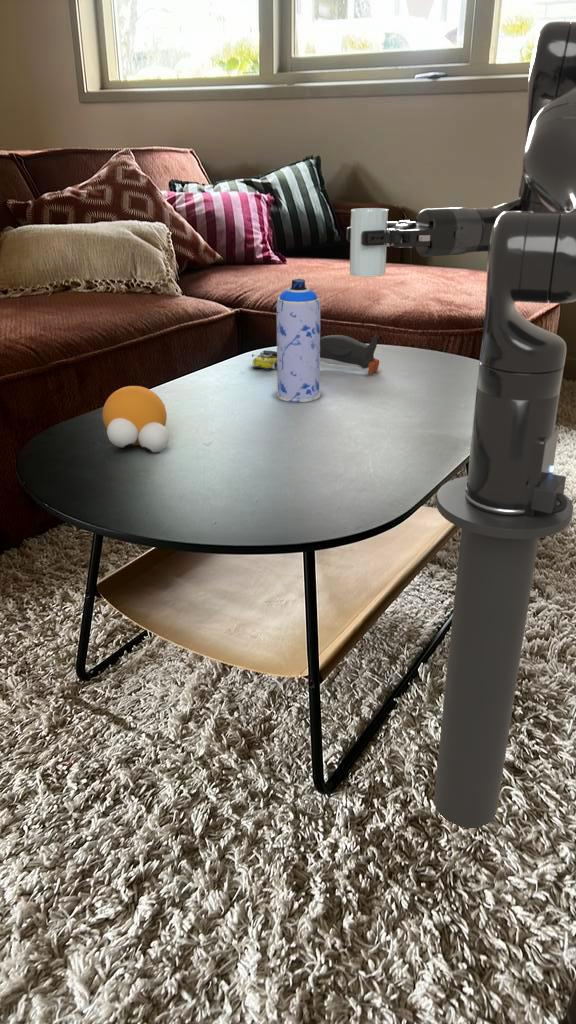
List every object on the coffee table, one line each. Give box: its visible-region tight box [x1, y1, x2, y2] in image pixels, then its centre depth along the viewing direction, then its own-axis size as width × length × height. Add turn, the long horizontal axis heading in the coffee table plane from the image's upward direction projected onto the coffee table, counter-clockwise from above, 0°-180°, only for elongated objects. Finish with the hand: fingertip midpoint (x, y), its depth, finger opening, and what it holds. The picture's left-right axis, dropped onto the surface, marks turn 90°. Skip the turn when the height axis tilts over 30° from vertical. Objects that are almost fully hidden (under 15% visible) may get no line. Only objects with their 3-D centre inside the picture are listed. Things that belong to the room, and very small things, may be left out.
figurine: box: [320, 334, 380, 376], centre depth 150 cm, size 7×10×15 cm
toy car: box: [251, 350, 277, 371], centre depth 155 cm, size 5×10×3 cm, turn 155°
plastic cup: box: [349, 207, 389, 278], centre depth 124 cm, size 6×6×10 cm
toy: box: [102, 385, 170, 453], centre depth 114 cm, size 9×10×15 cm
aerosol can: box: [275, 278, 322, 403], centre depth 132 cm, size 8×8×20 cm
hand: (354, 236), depth 123 cm, fingers closed on plastic cup, 6 cm apart
